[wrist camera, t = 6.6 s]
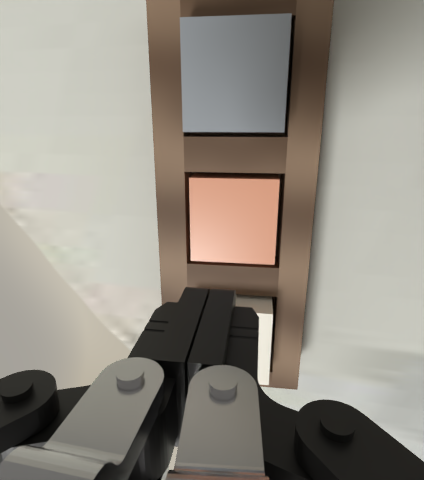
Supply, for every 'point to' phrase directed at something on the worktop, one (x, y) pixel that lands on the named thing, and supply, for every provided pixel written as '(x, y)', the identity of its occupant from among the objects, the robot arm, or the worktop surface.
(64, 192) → the worktop surface
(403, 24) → the worktop surface
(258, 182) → the terracotta key
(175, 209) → the key console
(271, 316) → the cream key
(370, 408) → the worktop surface
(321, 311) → the worktop surface
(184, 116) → the slate key
